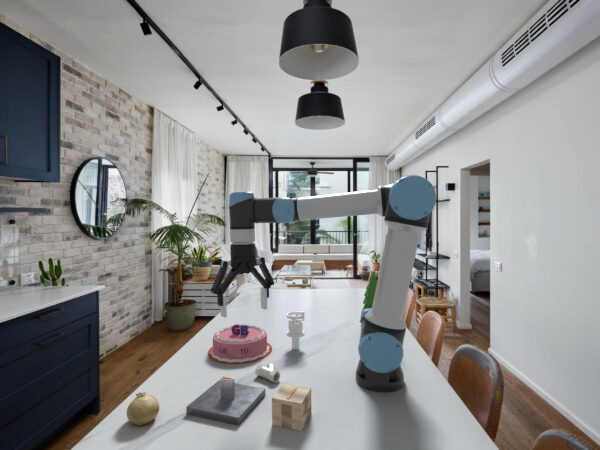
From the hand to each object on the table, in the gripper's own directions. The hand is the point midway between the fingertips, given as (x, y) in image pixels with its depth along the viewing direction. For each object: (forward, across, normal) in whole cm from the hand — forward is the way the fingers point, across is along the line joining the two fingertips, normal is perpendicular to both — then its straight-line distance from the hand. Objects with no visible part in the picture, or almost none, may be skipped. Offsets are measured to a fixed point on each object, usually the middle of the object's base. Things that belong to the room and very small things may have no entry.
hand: (244, 312), depth 109 cm
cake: (+24, -12, -29) cm, 40 cm away
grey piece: (+24, +8, +4) cm, 26 cm away
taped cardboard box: (+24, -3, +21) cm, 32 cm away
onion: (+24, +29, -1) cm, 38 cm away
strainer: (+24, -31, -18) cm, 43 cm away
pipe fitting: (+24, -10, -3) cm, 27 cm away
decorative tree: (+25, -62, -7) cm, 67 cm away
